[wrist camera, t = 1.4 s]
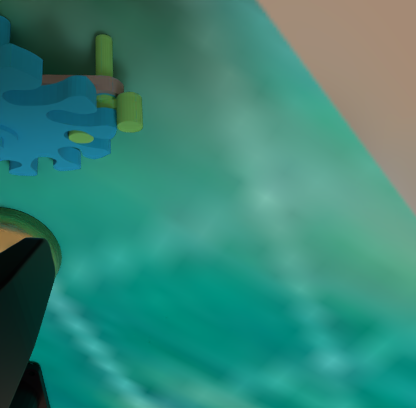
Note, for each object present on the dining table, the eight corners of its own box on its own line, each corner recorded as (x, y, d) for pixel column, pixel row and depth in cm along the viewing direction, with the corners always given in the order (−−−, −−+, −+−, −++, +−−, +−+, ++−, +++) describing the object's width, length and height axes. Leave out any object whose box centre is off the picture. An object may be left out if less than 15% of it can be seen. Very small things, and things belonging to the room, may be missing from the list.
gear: (-82, 190, 20) (-296, 72, 10) (-70, 84, 21) (-246, -105, 12) (144, 183, 21) (142, 78, 12) (140, 86, 23) (136, -75, 13)
